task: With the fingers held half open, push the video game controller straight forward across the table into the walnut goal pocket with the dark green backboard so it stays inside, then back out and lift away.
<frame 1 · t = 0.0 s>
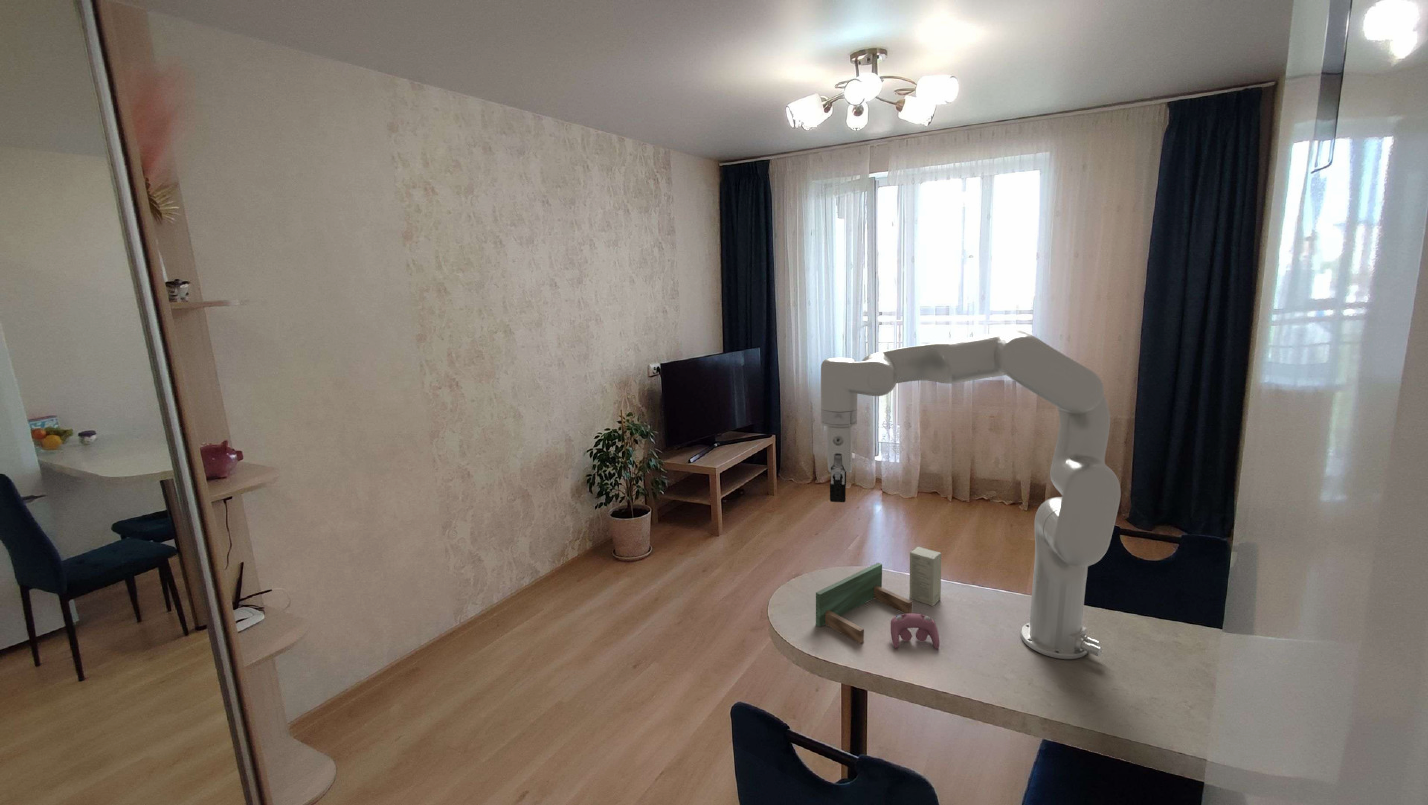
hand: (838, 493, 136), 31 cm above the table, tool pointing down, fingers open, 9 cm apart
video game controller: (913, 643, 134), on the table
goal pocket: (869, 618, 144), on the table
skincare box: (924, 599, 151), on the table
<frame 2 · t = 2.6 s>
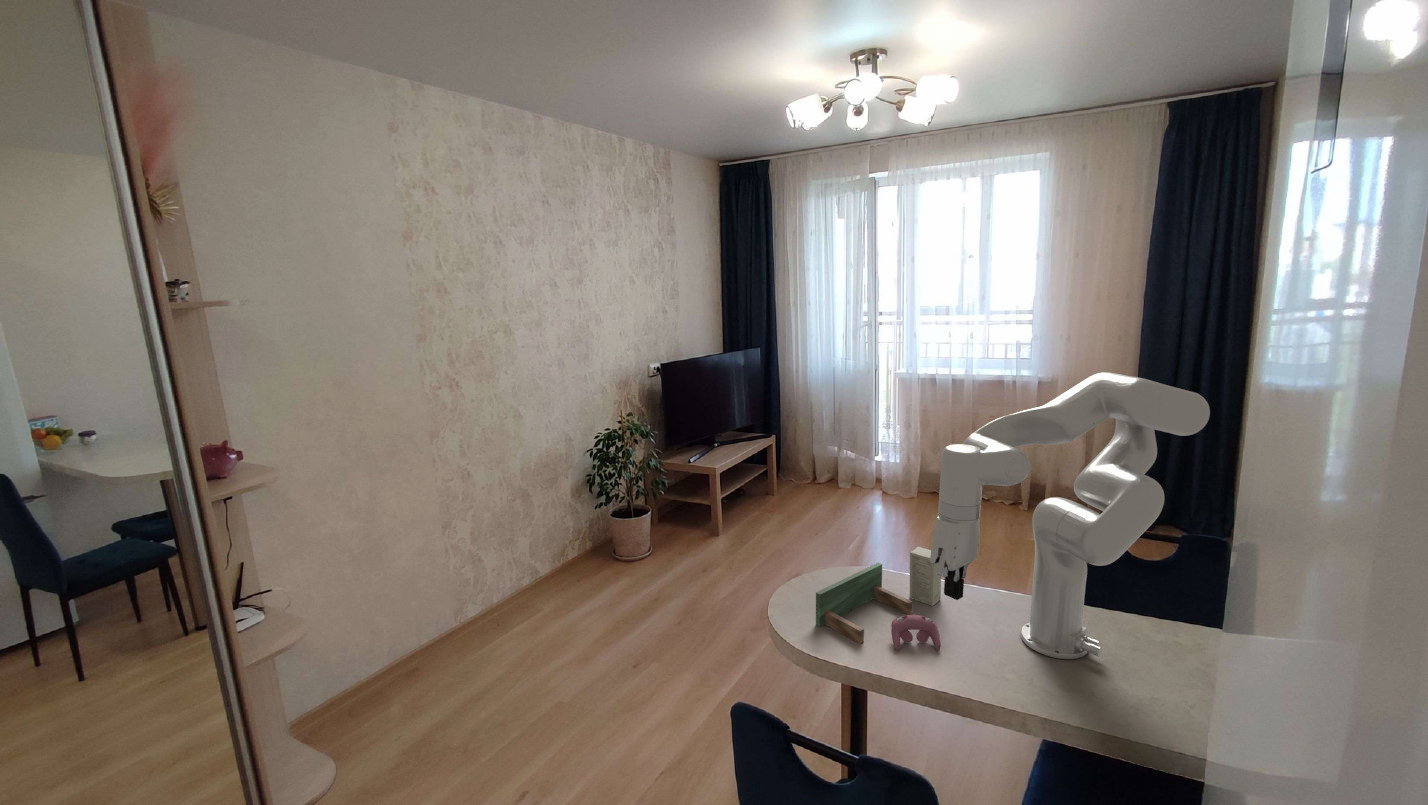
hand: (953, 596, 124), 15 cm above the table, tool pointing down, fingers closed
nothing on the table moved.
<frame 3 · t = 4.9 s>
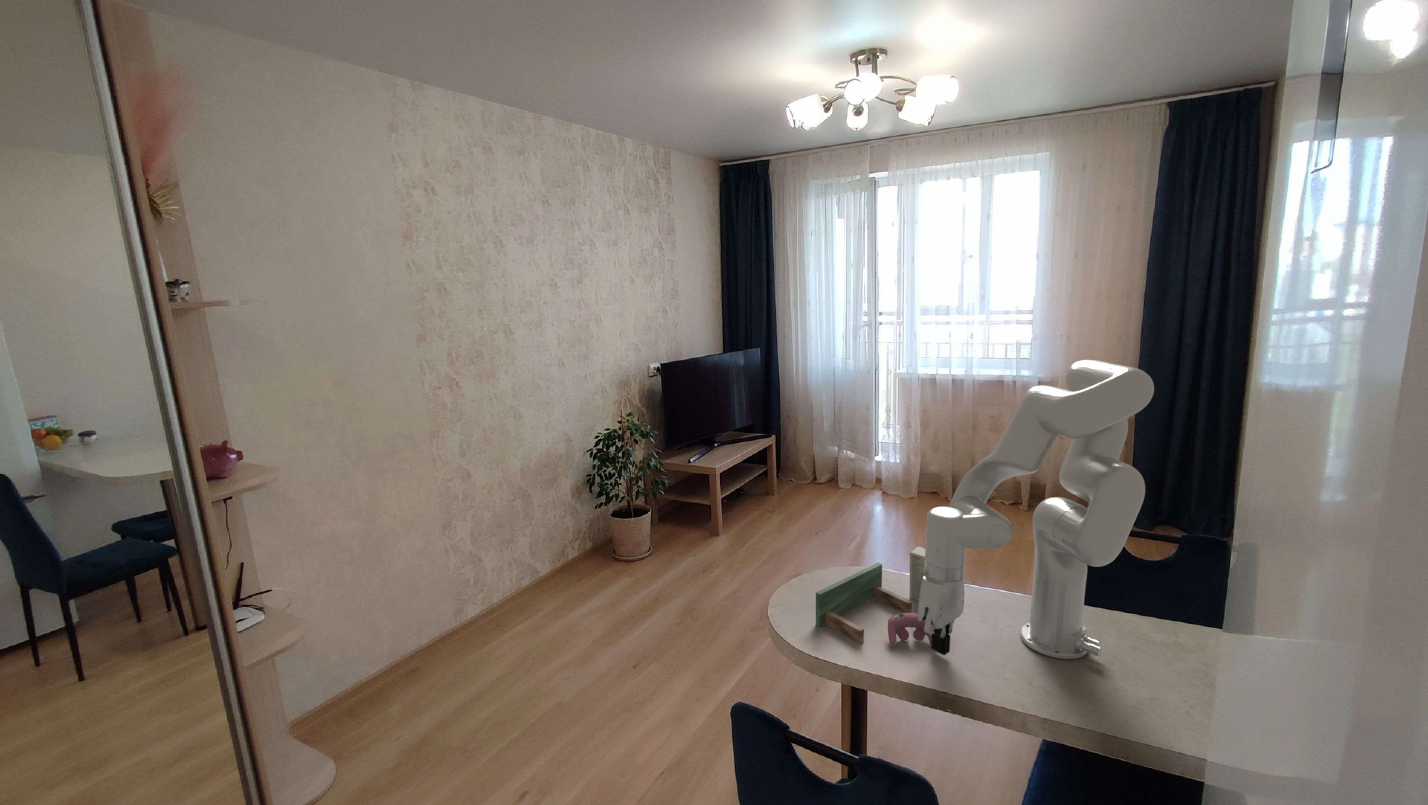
hand: (940, 650, 129), 1 cm above the table, tool pointing down, fingers closed
video game controller: (911, 642, 134), on the table, touching gripper
everything else where it was.
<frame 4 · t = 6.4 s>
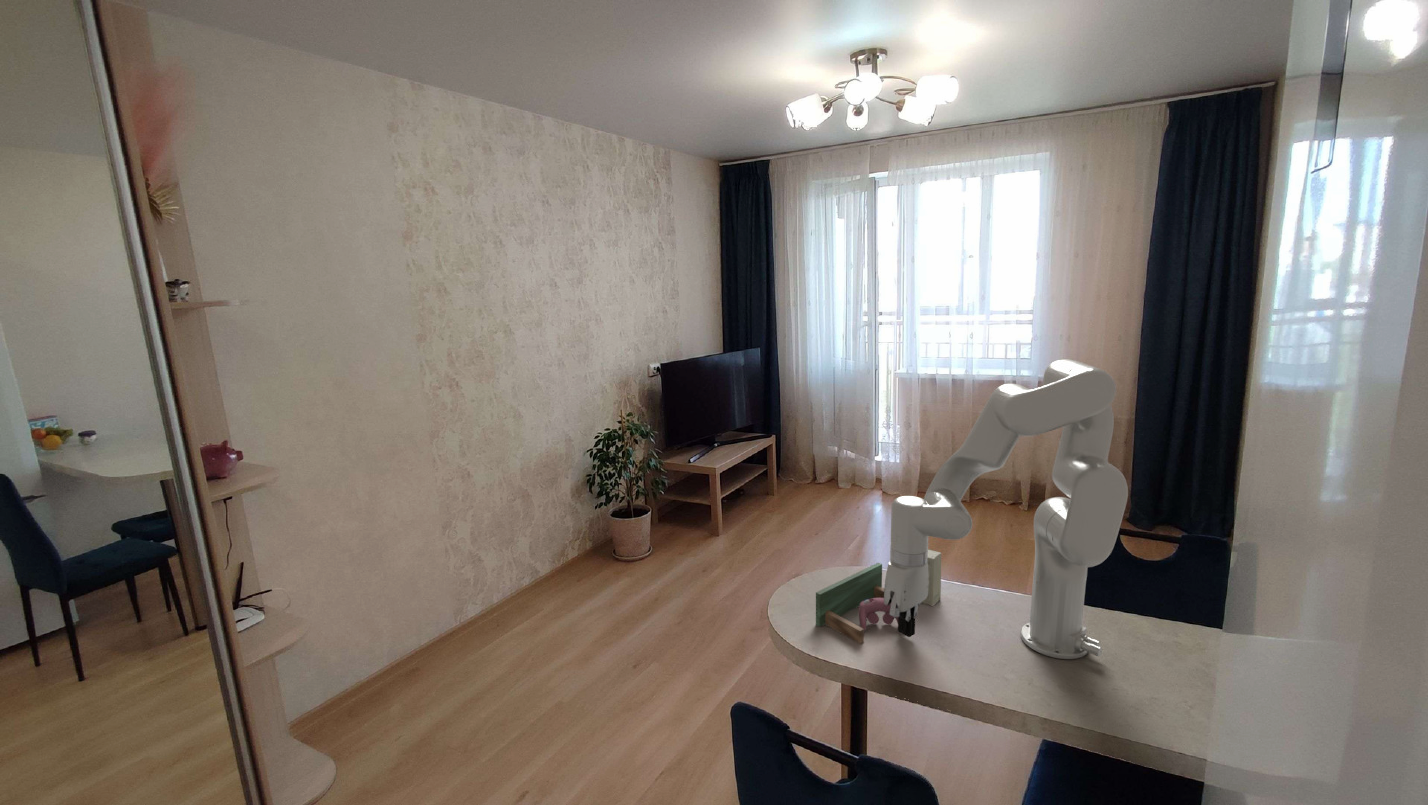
hand: (906, 633, 136), 1 cm above the table, tool pointing down, fingers closed
video game controller: (880, 626, 141), on the table, touching gripper
everything else where it was.
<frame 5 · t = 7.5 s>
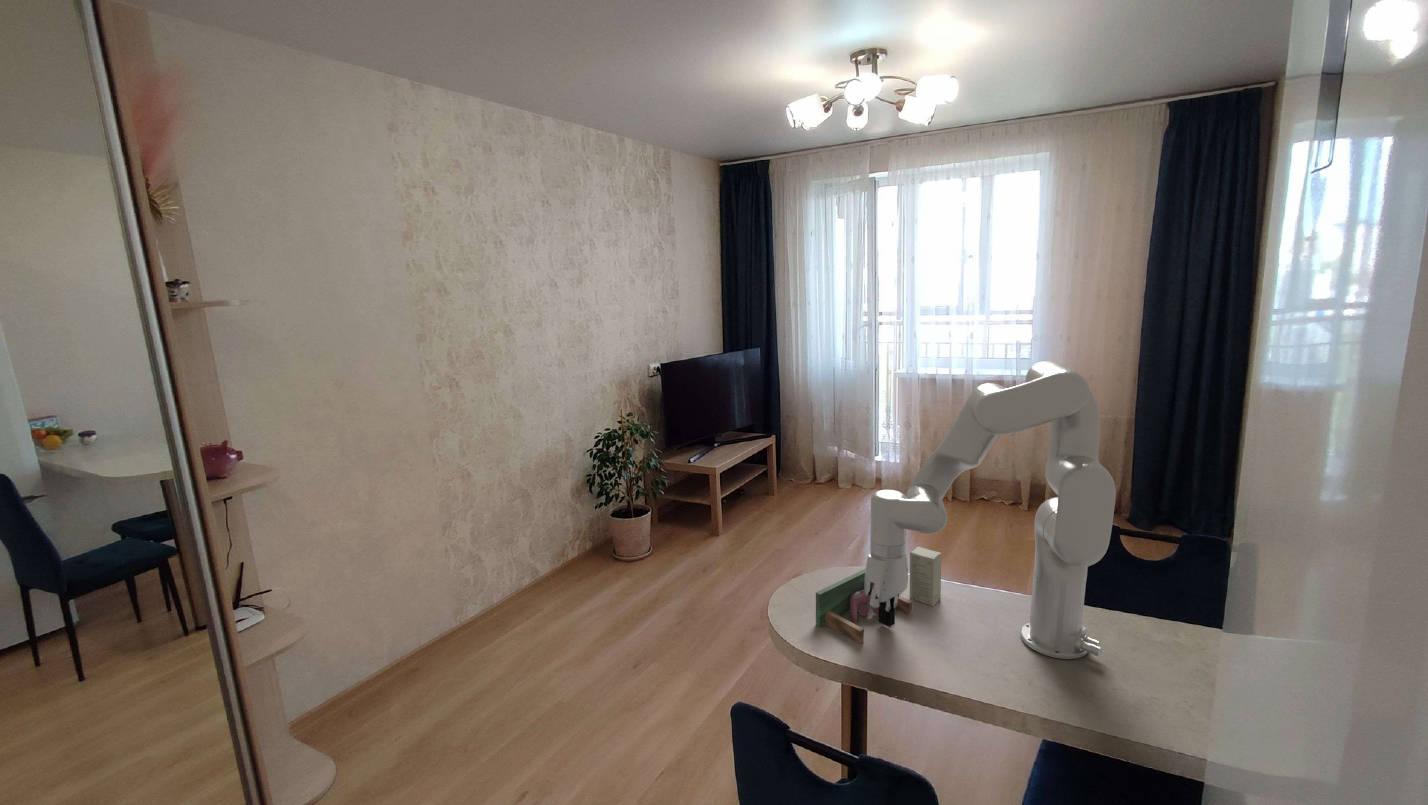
hand: (886, 623, 140), 1 cm above the table, tool pointing down, fingers closed
video game controller: (871, 617, 145), on the table, touching goal pocket, gripper
everything else where it was.
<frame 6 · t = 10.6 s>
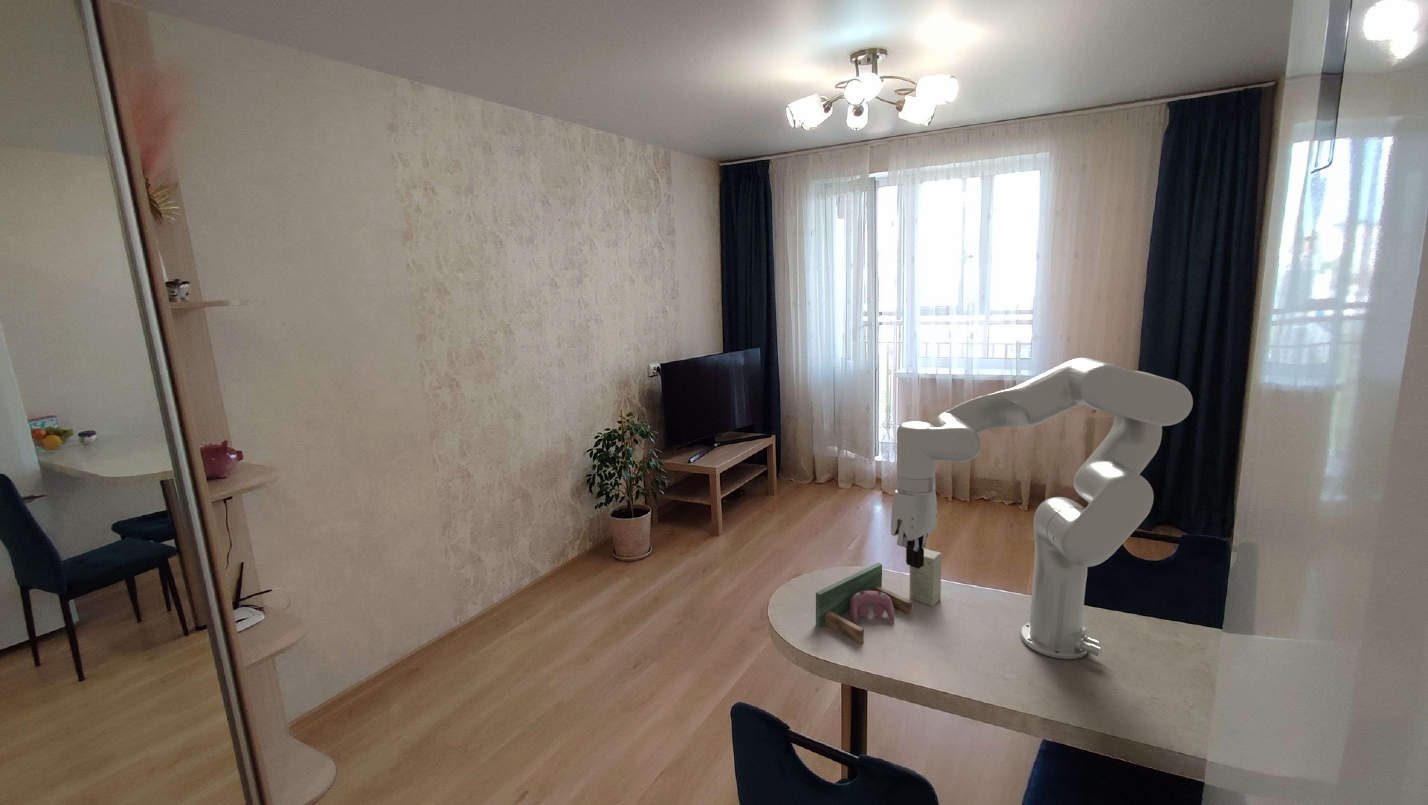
hand: (914, 565, 131), 17 cm above the table, tool pointing down, fingers closed
video game controller: (871, 618, 144), on the table
everything else where it was.
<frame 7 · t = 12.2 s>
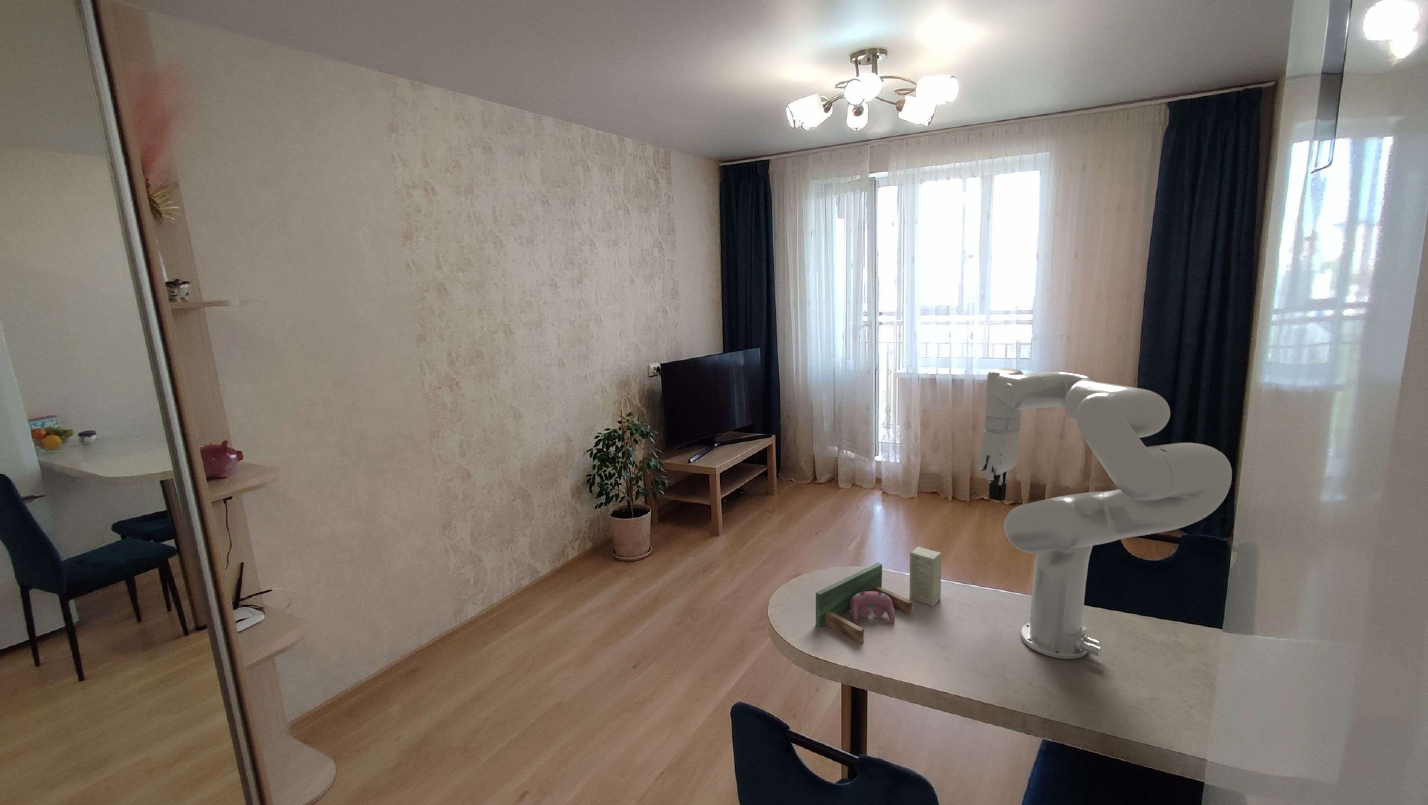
hand: (996, 498, 146), 25 cm above the table, tool pointing down, fingers closed
nothing on the table moved.
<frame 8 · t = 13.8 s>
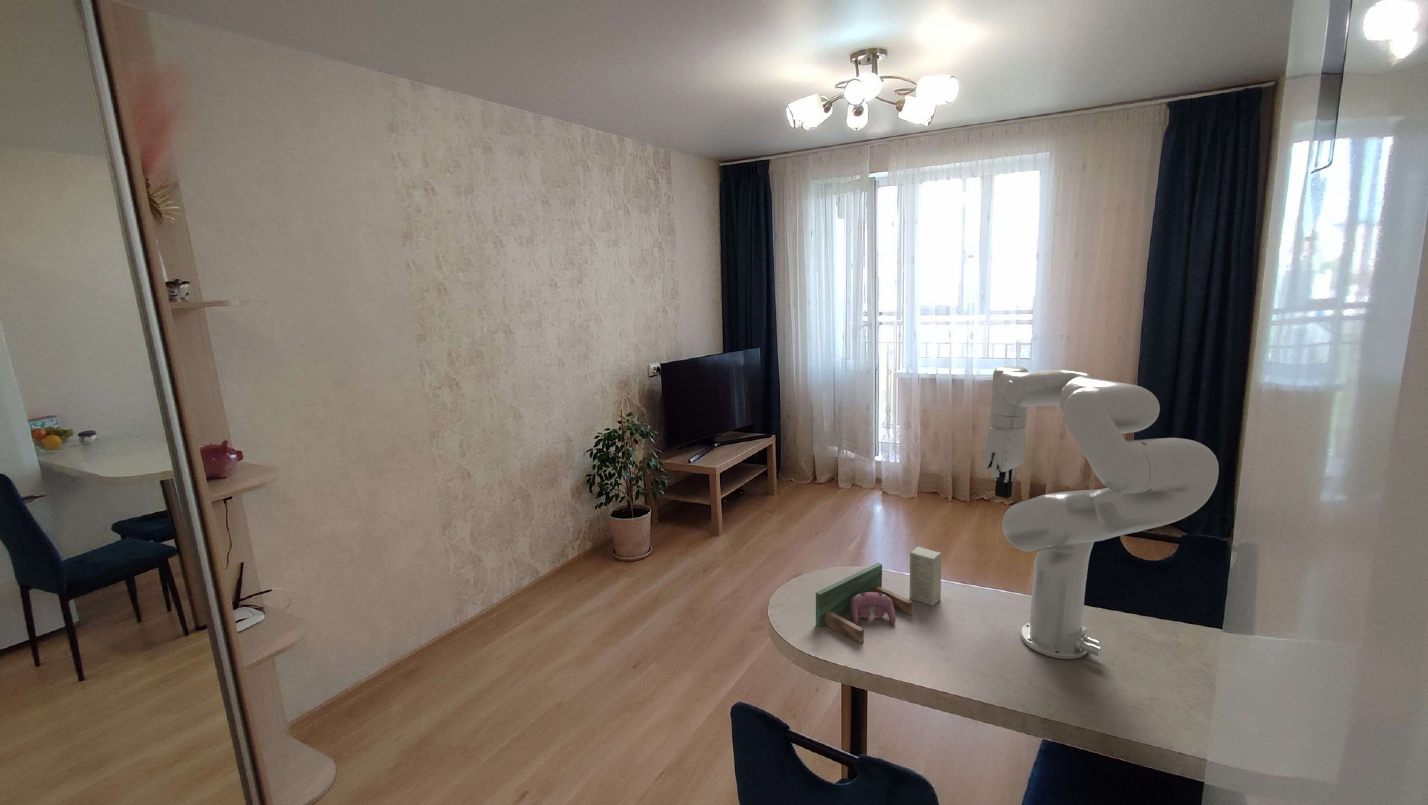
hand: (1003, 496, 147), 25 cm above the table, tool pointing down, fingers closed
nothing on the table moved.
at the end: video game controller inside the target area on the goal pocket (1.2 cm from its centre), point 0.0 cm above the goal pocket's base; video game controller moved 11.5 cm from its start; the gripper is holding nothing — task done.
